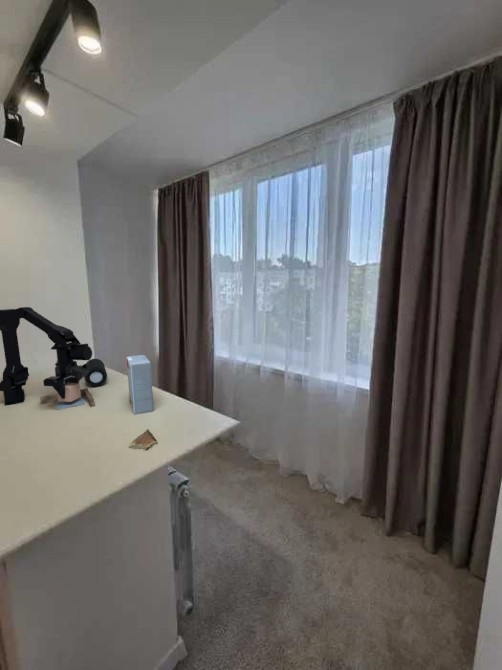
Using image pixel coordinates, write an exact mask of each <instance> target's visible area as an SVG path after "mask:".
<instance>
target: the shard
mask: <svg viewBox="0 0 502 670" xmlns="http://www.w3.org/2000/svg"><path fill="white" fill-rule="evenodd" d="M154 444H156V445H158V440H157V439H156V438H155V436H154V435H153V433H152V432H151V431H150V430H149V429H148V428H147V429H146V430H145V431H144V432H143V433H141V434H139V436H136V438H134V439H133V441H132V442H130V443H129V444H128V448H129V449H133V448H137V449H136V450H141V449H146V450H147V449H149V448H150V447H149V446H151V447H153V446H152V445H154ZM154 446H155V445H154ZM148 447H149V448H148Z"/></svg>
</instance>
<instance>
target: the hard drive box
mask: <svg viewBox="0 0 502 670" xmlns="http://www.w3.org/2000/svg"><path fill="white" fill-rule="evenodd" d="M125 361H126V369H127V383H128V384H127V385H128V394H129V396H128V397H129V403H130V406H131V409H132V412H133V415H140V414H145V413H149V412H150V413H151V412H154V394H153V383H152V382H153V381H152V378H153V377H152V365H151V364H152V362H151V361H150V360H149V359H148V358H147V356H146V355H145V354H140V355H129V356H126V360H125Z"/></svg>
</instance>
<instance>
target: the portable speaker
mask: <svg viewBox="0 0 502 670" xmlns="http://www.w3.org/2000/svg"><path fill="white" fill-rule="evenodd" d="M85 364H88V365H89V368H90V369H89V370H90V372H88V374H87V376H86V377H84V381H85V382H86V384H87V385H89V386H91V387H99V386H102V385H103V384H104V383H106V382H107V379H108V374H107V373H108V372H107V370H106V366H105V363H104V362H103V360H101V359H99V358H91V359H90V360H87V361H86V363H85Z"/></svg>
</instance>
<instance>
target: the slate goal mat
mask: <svg viewBox="0 0 502 670" xmlns="http://www.w3.org/2000/svg"><path fill="white" fill-rule="evenodd" d="M54 404H55V406H56V410H64V409H70V408H74V407H79V406H82V405H86V402H85V400H84V398H83V397H79V398H77V399H75V400H73V401H71V402H65V401H57V402H54Z"/></svg>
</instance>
